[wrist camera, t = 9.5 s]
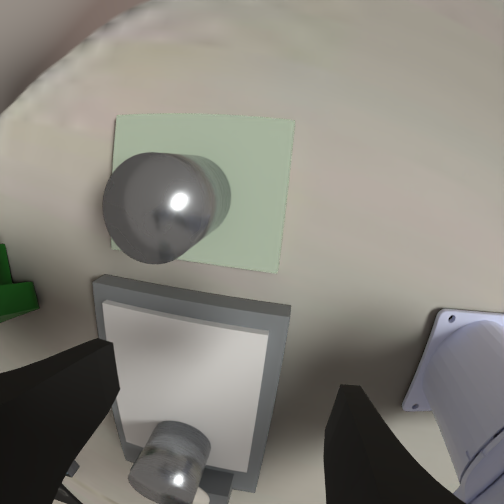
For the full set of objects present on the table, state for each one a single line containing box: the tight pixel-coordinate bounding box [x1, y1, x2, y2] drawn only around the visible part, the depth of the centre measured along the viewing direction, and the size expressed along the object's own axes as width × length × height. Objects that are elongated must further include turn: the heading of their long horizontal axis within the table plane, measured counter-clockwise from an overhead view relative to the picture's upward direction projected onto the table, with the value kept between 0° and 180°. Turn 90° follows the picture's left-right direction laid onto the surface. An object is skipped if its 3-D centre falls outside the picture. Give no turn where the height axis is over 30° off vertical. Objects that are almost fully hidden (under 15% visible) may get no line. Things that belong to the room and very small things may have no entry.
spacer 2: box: [128, 421, 211, 504], centre depth 18 cm, size 4×4×5 cm
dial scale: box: [93, 274, 291, 504], centre depth 19 cm, size 12×19×4 cm, turn 175°
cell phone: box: [54, 483, 82, 504], centre depth 34 cm, size 9×18×1 cm, turn 110°
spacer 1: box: [103, 152, 231, 264], centre depth 14 cm, size 4×4×5 cm
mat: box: [111, 113, 295, 274], centre depth 17 cm, size 10×8×1 cm
